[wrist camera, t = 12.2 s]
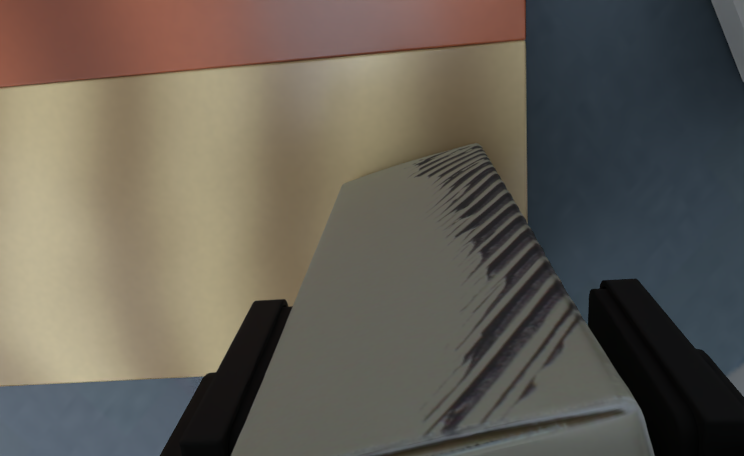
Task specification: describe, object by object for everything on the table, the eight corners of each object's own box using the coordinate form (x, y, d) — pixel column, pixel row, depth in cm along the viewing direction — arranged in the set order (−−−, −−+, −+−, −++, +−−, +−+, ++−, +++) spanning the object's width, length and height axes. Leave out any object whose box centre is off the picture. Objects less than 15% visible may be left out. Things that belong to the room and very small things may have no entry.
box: (522, 293, 19) (744, 794, 7) (384, 330, 20) (363, 851, 7) (477, 127, 17) (665, 398, 5) (329, 173, 18) (187, 512, 6)
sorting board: (514, -408, 15) (521, -437, 14) (523, 345, 21) (529, 361, 20) (-403, -271, 17) (-452, -288, 16) (-135, 379, 23) (-158, 395, 22)
